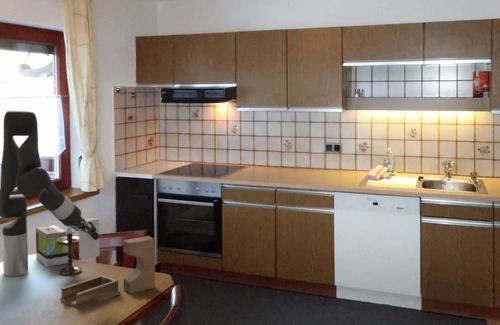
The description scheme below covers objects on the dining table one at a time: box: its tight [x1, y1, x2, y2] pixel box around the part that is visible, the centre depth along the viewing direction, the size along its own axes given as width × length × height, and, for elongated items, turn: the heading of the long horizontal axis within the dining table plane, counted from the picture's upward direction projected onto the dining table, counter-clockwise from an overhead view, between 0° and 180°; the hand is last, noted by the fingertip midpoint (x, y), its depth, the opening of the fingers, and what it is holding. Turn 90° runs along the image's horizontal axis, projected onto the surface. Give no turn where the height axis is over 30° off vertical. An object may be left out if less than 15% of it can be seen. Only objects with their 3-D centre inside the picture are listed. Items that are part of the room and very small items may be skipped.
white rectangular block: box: [78, 217, 101, 260], centre depth 195 cm, size 4×6×14 cm, turn 144°
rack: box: [59, 274, 121, 310], centre depth 198 cm, size 12×18×5 cm, turn 144°
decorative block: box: [122, 235, 156, 295], centre depth 206 cm, size 11×6×20 cm, turn 127°
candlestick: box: [56, 190, 83, 277], centre depth 222 cm, size 11×11×35 cm
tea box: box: [35, 224, 69, 267], centre depth 238 cm, size 15×10×15 cm, turn 39°
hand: (93, 236), depth 197 cm, fingers closed on white rectangular block, 4 cm apart
